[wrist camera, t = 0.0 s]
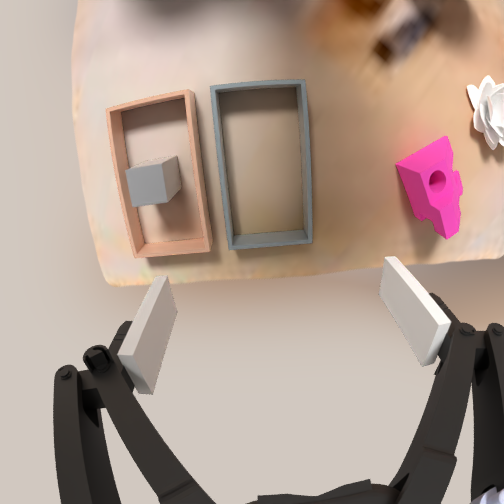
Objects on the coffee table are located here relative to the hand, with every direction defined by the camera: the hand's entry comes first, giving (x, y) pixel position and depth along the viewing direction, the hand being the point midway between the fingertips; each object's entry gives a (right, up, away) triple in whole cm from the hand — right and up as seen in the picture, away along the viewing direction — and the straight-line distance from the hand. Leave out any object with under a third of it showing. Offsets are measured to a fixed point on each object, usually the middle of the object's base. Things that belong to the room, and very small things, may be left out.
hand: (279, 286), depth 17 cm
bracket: (+29, +15, +24) cm, 41 cm away
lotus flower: (+43, +29, +18) cm, 55 cm away
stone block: (-15, +14, +24) cm, 31 cm away
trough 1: (-15, +14, +24) cm, 31 cm away
